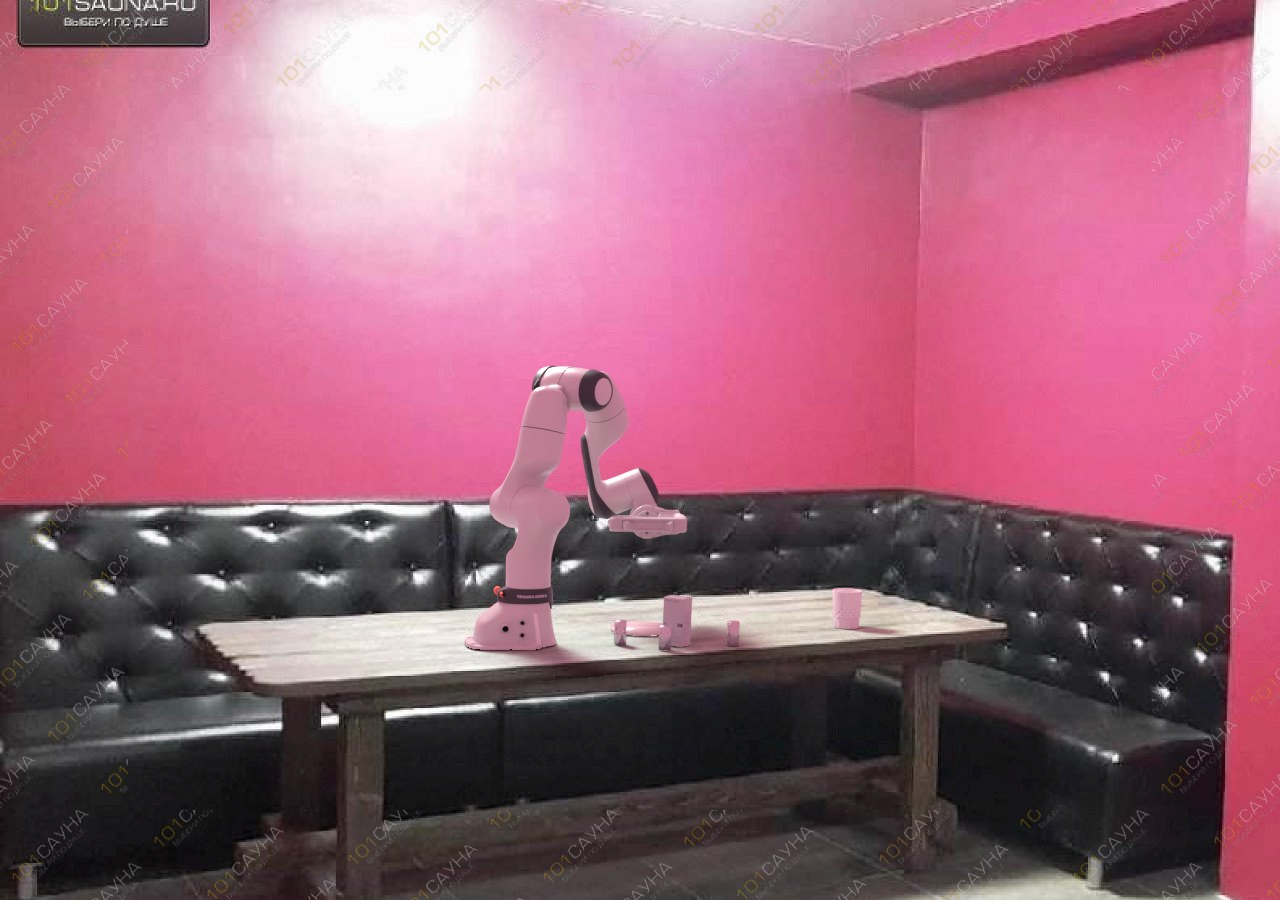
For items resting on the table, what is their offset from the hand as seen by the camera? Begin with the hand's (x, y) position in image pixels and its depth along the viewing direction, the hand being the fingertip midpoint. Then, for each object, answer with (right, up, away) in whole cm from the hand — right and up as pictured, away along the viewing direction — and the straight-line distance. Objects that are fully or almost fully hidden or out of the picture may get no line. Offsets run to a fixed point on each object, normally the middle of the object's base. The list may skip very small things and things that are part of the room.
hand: (648, 527), depth 349 cm
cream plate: (-2, -28, +8) cm, 29 cm away
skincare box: (+7, -29, -10) cm, 31 cm away
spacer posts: (+7, -29, -12) cm, 32 cm away
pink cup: (+53, -28, +19) cm, 63 cm away
